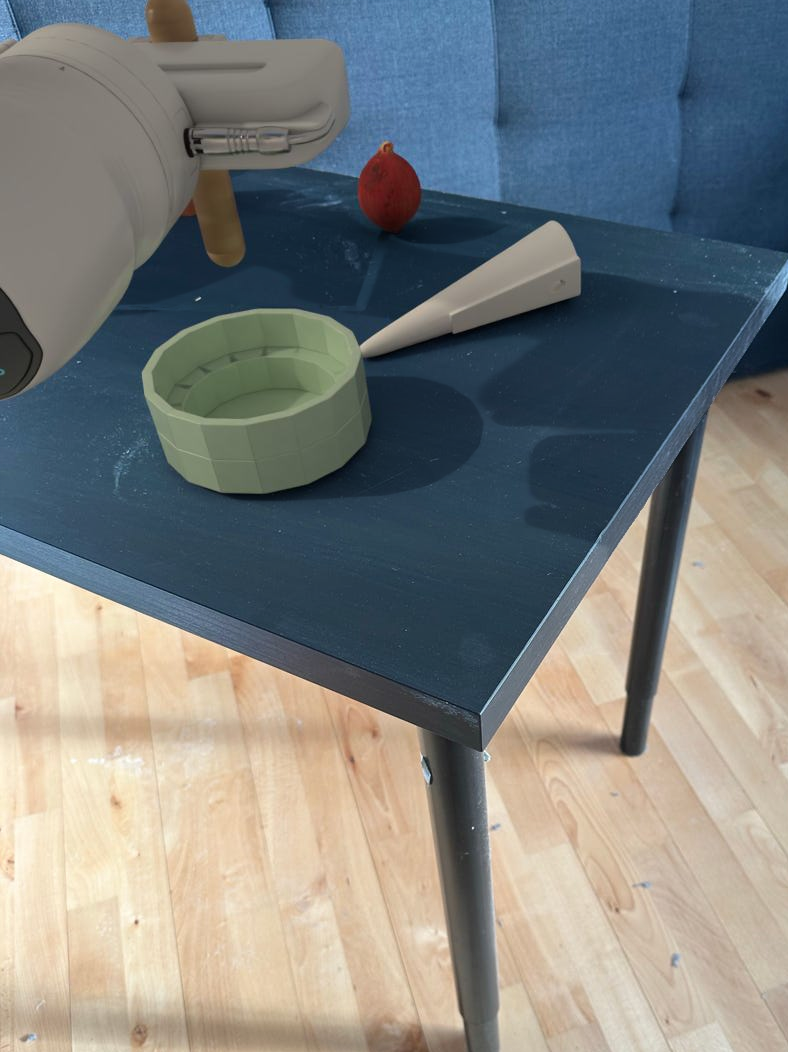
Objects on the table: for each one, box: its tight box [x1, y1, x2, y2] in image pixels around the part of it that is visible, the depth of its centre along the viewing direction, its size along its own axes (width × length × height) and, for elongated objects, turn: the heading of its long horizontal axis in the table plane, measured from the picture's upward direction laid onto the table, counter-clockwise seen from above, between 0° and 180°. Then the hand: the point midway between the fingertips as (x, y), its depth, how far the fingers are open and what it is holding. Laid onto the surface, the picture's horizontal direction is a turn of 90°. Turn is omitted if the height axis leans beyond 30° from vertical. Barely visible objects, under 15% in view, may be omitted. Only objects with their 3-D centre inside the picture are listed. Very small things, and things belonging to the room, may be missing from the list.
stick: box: [144, 0, 246, 268], centre depth 53 cm, size 2×2×14 cm
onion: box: [357, 140, 422, 234], centre depth 86 cm, size 6×6×8 cm
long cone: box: [359, 220, 582, 359], centre depth 76 cm, size 6×6×19 cm
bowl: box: [141, 308, 373, 495], centre depth 65 cm, size 14×14×6 cm
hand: (183, 52), depth 50 cm, fingers closed on stick, 2 cm apart
